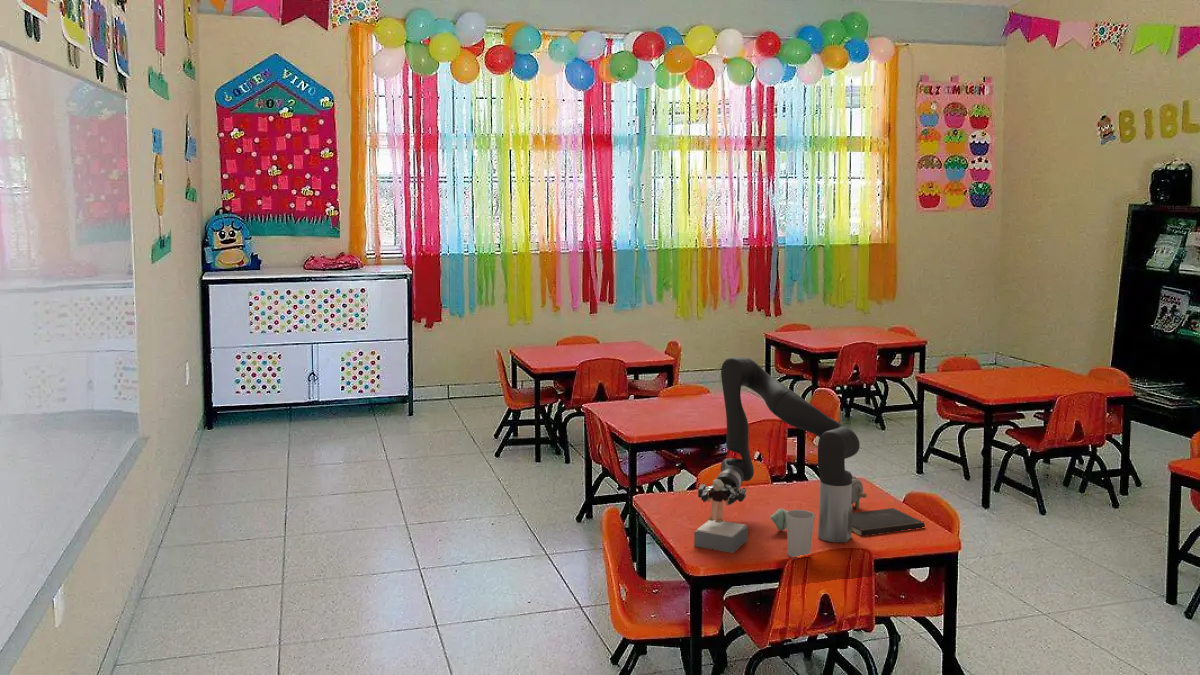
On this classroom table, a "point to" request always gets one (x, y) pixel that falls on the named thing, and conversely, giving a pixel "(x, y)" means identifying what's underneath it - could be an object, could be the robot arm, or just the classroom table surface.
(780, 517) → the robot head
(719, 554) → the classroom table surface
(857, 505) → the toy sheep
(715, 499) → the grandmother figurine
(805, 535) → the cup
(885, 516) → the hardcover book
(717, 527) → the plinth
